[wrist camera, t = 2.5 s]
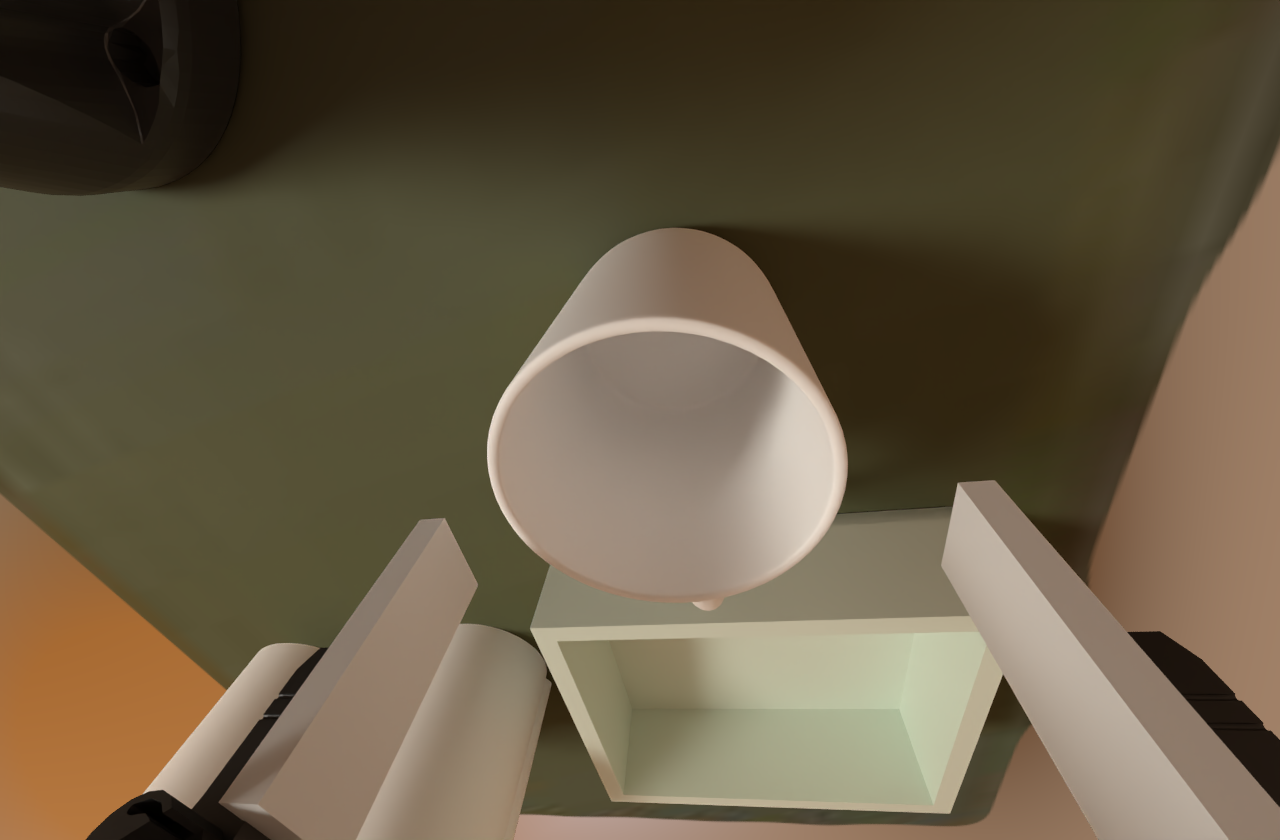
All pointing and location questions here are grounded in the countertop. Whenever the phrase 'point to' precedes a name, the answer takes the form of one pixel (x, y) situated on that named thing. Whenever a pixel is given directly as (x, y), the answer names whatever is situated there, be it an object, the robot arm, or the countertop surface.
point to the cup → (669, 429)
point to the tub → (784, 679)
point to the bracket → (409, 739)
